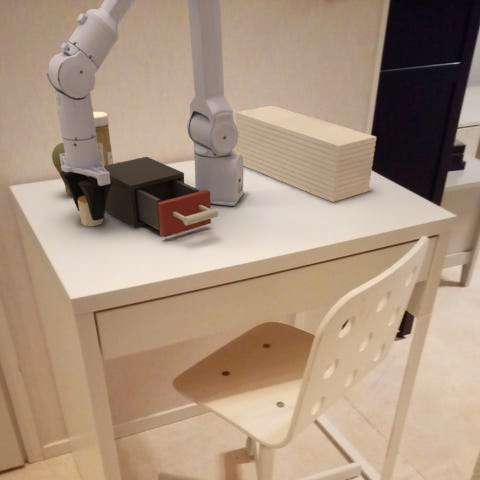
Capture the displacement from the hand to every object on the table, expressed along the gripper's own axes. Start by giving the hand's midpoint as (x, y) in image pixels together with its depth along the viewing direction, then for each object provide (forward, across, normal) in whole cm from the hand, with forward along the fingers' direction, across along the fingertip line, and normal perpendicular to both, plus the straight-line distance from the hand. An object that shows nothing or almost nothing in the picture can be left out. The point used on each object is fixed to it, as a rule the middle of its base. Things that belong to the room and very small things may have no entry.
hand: (91, 214), depth 112 cm
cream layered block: (+2, +5, +49) cm, 49 cm away
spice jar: (+2, -18, +13) cm, 22 cm away
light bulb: (+2, -15, +4) cm, 16 cm away
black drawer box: (+1, +1, +10) cm, 11 cm away
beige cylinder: (+1, 0, 0) cm, 1 cm away
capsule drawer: (0, +13, +11) cm, 16 cm away
